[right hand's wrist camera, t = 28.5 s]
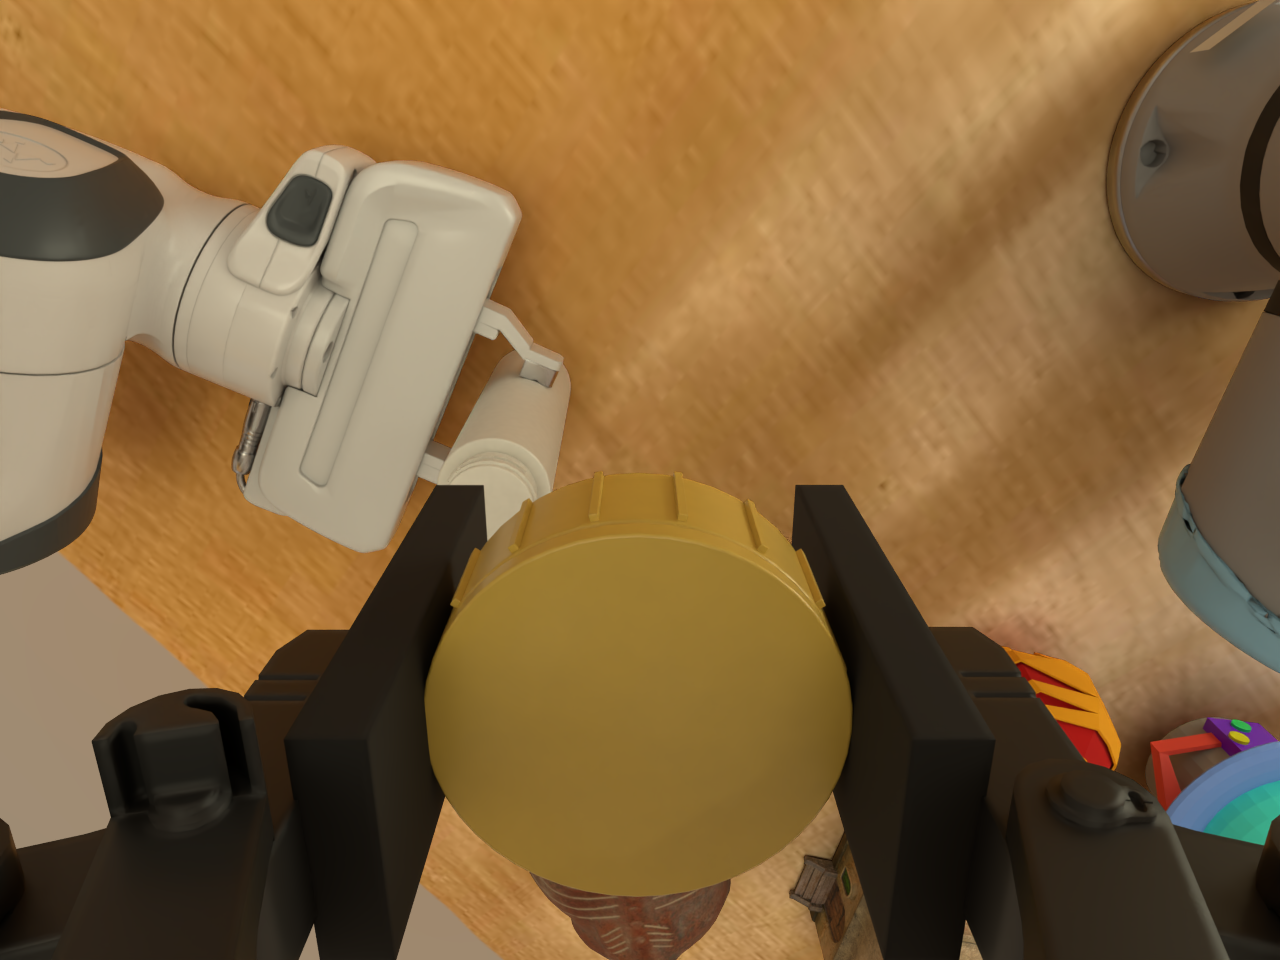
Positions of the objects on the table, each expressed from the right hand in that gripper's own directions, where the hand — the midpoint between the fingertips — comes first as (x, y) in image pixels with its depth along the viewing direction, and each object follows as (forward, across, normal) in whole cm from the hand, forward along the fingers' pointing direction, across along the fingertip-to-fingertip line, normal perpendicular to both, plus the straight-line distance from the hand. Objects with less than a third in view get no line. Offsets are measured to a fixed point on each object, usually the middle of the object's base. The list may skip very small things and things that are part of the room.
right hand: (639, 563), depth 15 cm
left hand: (+32, +5, +7) cm, 33 cm away
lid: (-4, 0, 0) cm, 4 cm away
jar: (+38, +6, +7) cm, 39 cm away
